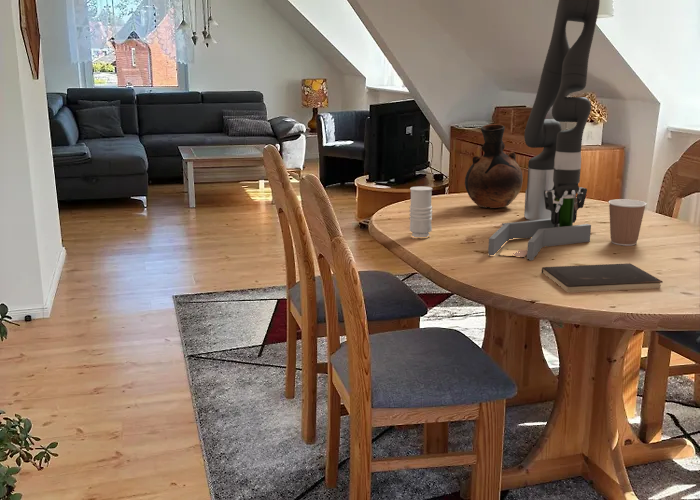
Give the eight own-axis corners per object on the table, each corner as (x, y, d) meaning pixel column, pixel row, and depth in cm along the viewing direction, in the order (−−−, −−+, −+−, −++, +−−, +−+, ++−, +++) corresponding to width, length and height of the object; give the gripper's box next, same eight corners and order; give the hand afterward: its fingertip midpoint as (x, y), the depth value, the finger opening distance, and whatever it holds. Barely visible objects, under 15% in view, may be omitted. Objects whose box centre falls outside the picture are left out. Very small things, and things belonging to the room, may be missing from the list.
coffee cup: (641, 239, 209) (645, 200, 206) (643, 248, 200) (647, 206, 197) (604, 237, 213) (608, 198, 210) (605, 245, 203) (608, 204, 200)
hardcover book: (661, 290, 165) (662, 281, 164) (566, 295, 163) (567, 285, 162) (628, 271, 180) (629, 262, 180) (541, 275, 178) (541, 266, 177)
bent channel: (461, 244, 207) (462, 227, 206) (564, 232, 219) (565, 217, 218) (505, 263, 186) (506, 245, 185) (615, 250, 198) (617, 232, 197)
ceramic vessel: (513, 202, 268) (517, 122, 260) (528, 211, 251) (533, 126, 243) (458, 203, 266) (461, 123, 258) (470, 213, 249) (473, 127, 241)
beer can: (563, 235, 208) (566, 195, 205) (549, 232, 213) (552, 192, 209) (575, 233, 211) (578, 193, 208) (561, 229, 215) (564, 191, 212)
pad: (504, 249, 200) (504, 248, 200) (529, 252, 197) (529, 250, 197) (498, 255, 194) (498, 254, 194) (524, 258, 191) (524, 256, 191)
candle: (434, 235, 218) (435, 187, 214) (427, 240, 212) (428, 190, 208) (413, 233, 221) (414, 185, 217) (405, 238, 215) (406, 189, 211)
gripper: (579, 163, 212) (575, 218, 217) (538, 166, 208) (535, 222, 212) (596, 167, 206) (591, 223, 210) (554, 170, 201) (550, 228, 205)
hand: (563, 223), depth 211 cm, fingers closed on beer can, 5 cm apart
